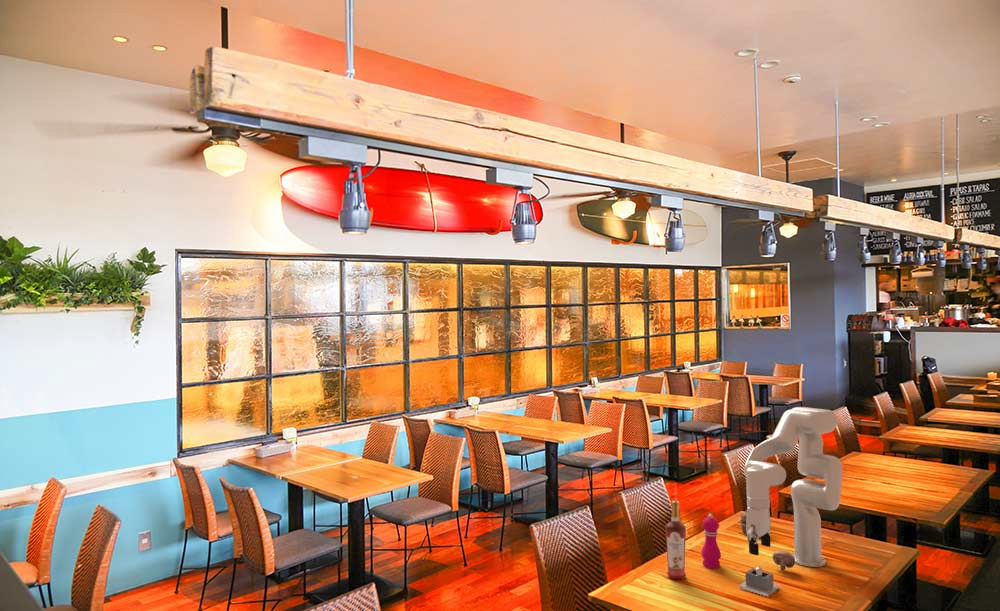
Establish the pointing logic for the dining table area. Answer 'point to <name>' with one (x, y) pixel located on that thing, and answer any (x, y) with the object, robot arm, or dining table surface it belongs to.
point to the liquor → (675, 545)
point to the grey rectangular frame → (759, 579)
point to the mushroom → (784, 559)
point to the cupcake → (744, 522)
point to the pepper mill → (711, 543)
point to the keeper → (758, 590)
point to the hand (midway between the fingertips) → (760, 550)
